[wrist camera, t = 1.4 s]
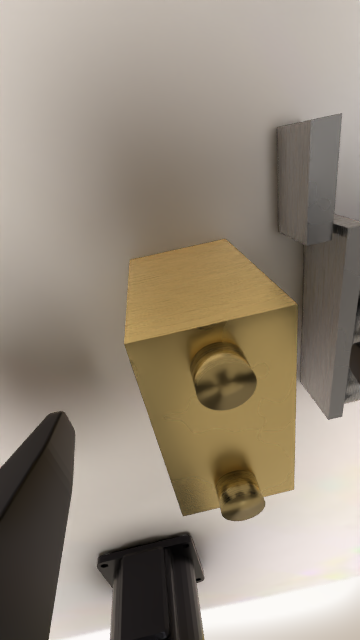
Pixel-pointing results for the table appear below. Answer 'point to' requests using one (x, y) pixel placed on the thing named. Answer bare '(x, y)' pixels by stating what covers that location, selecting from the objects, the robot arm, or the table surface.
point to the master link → (215, 374)
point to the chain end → (321, 258)
